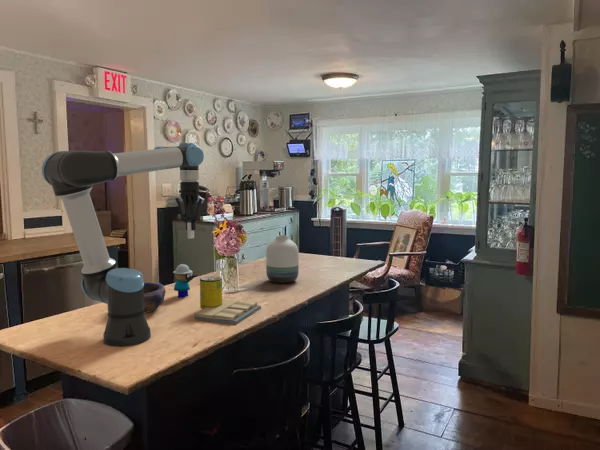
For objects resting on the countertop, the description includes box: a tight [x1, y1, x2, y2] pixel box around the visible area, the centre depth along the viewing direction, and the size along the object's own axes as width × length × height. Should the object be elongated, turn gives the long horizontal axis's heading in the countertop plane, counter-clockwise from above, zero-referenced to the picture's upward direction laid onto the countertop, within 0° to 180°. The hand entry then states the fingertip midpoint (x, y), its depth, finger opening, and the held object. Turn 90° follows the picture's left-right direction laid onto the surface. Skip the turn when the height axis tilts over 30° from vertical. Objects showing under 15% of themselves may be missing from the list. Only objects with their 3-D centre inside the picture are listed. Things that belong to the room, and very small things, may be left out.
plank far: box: [229, 300, 258, 311], centre depth 190 cm, size 10×8×1 cm
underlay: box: [194, 298, 262, 325], centre depth 186 cm, size 22×18×2 cm
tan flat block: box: [213, 309, 244, 320], centre depth 179 cm, size 10×8×1 cm
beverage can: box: [199, 275, 223, 310], centre depth 190 cm, size 9×9×12 cm
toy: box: [172, 263, 194, 299], centre depth 211 cm, size 8×9×15 cm
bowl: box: [144, 282, 167, 313], centre depth 190 cm, size 18×18×10 cm
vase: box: [265, 234, 300, 284], centre depth 241 cm, size 17×17×24 cm
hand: (190, 238), depth 192 cm, fingers closed
